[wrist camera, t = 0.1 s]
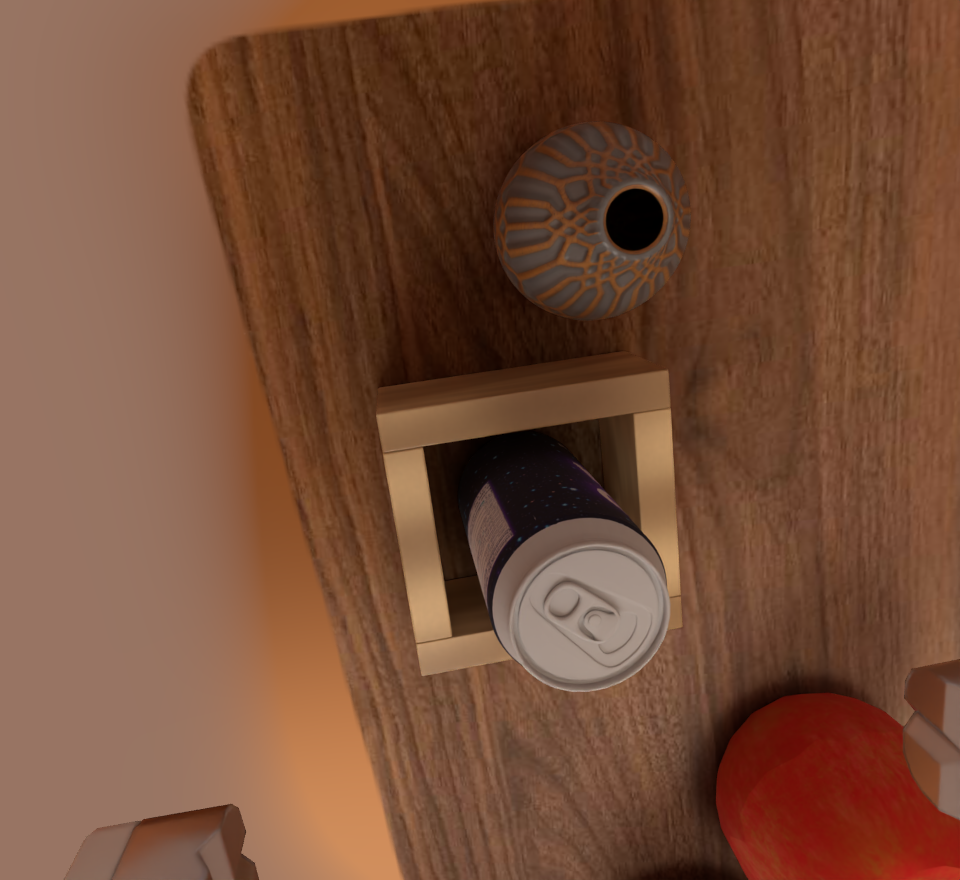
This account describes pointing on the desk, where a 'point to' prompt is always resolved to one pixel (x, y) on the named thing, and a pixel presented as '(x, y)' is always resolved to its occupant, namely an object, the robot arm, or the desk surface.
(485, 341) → the desk surface
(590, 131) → the vase
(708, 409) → the desk surface
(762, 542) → the desk surface
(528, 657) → the beverage can
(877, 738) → the apple
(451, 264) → the desk surface
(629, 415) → the holder
